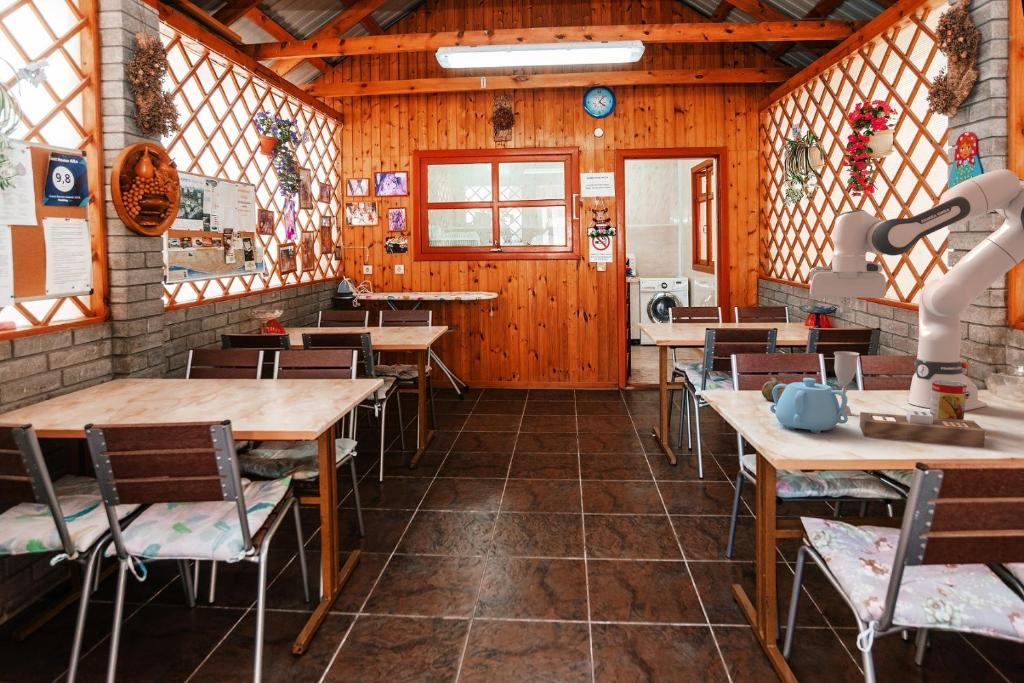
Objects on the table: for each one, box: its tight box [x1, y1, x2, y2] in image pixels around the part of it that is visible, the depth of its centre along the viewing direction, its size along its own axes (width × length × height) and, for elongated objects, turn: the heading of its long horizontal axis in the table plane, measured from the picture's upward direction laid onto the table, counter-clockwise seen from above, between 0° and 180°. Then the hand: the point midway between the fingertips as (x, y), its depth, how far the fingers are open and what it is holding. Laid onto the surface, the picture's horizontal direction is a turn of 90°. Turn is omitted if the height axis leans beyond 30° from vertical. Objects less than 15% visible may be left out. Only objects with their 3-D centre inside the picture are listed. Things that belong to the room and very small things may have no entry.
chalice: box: [833, 350, 860, 416], centre depth 196 cm, size 7×7×18 cm
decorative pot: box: [769, 377, 849, 434], centre depth 180 cm, size 16×16×14 cm
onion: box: [761, 376, 785, 402], centre depth 214 cm, size 8×8×8 cm
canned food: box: [929, 380, 967, 420], centre depth 183 cm, size 8×8×12 cm
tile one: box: [872, 416, 897, 422], centre depth 175 cm, size 5×5×3 cm
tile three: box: [942, 421, 968, 427], centre depth 169 cm, size 5×5×3 cm
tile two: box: [906, 410, 933, 424], centre depth 172 cm, size 5×5×3 cm
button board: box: [858, 411, 986, 448], centre depth 172 cm, size 26×11×4 cm, turn 68°
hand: (846, 312), depth 198 cm, fingers closed
